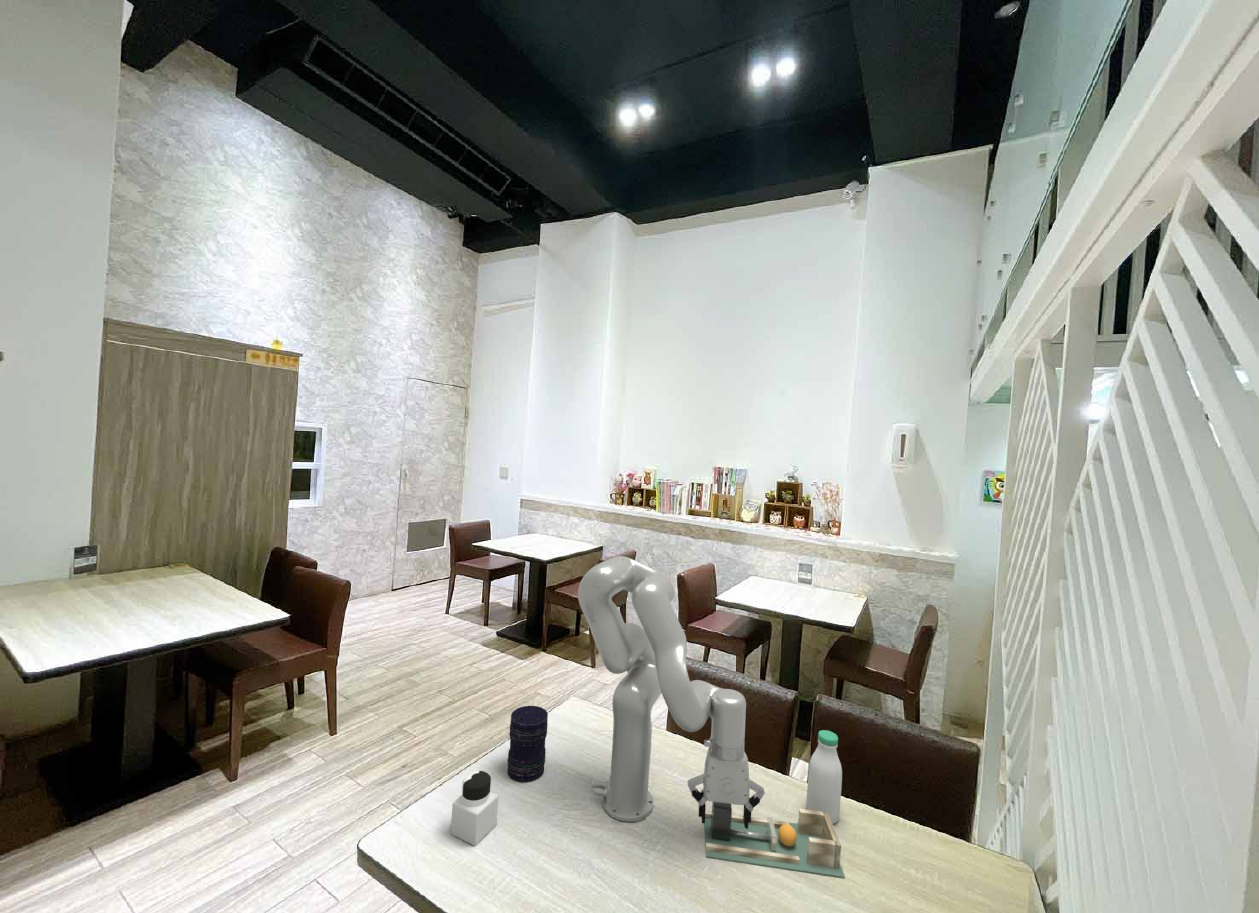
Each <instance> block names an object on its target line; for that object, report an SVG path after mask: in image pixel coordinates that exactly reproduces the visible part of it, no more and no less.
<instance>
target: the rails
mask: <svg viewBox="0 0 1259 913" xmlns="http://www.w3.org/2000/svg"><path fill="white" fill-rule="evenodd" d="M710 811H711V810H706V811H705V818H709V819H711V815H712V812H710ZM738 815H739V814H733V815H732V816H731V822H737V823H744V820H743V815H740V816H738ZM753 817H754V816H751V823H750V822H748V824H751V825H758V826H765V827H767V819H768V818H761V819H760V817H754V818H753ZM788 822H789V821H783V822H781V821H780V820H776V821H774V819H773V823H774V827H775V828H780V827H781V826H782V825H784V824H788V825H789V823H788ZM706 851H711V852H718V853H725V854H732V855H738V856H745V857H752V858H758V859H765V860H772V861H778V862H785V863H792V864H799V862H800V860H799V856H793V855H786V854H779V853H773V852H766V851H759V850H752V849H746V848H739V847H732V846H725V845H718V844H712V843H706V850H705V852H706Z"/></svg>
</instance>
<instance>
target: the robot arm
mask: <svg viewBox="0 0 1259 913" xmlns="http://www.w3.org/2000/svg"><path fill="white" fill-rule="evenodd" d="M674 586H675V585H674V584H673V583H672V581H671V580H670V579H669V577H667V576H666V575H664V574H663V573H660V572H659V571H657V570H655V569H653V568H651V567H649V566H647V565H644V564H643V563H641V562H638V561H636V560H635V559H632V558H630V557H628V556H624V555H623V556H622V555H617V556H614V557H613V556H612V557H611V558H608V559H607V560H604V561H601V562H599V563H598V564H596V565H595V566H592V567H591V568H590V569H589V570H588V571H587V572H586V573H585V575H584V576H583V577H582V578H581V581H580V583H579V586H578V591H577V597H578V598H577V599H578V603H579V606H580V609H581V611H582V613H583V615H584V618H585V619H586V622H587V624H588V627H589V629H590V633H591V635H592V638H593V641H594V642H595V645H596V649H597V651H598V653H599V655H600V659H601V661H602V663H603V665H604V667H605V669H606V670H608V672H610V673H612V674H613V675H614V674H615V675H621V674H623V673H626V672H627V674H626V675H625V676H624V677H623V678H622V679H621V680H620V681H619V683H618V684H617V686H616V688H615V689H614V691H613V694H612V702H611V703H612V704H611V705H612V715H613V718H612V719H613V728H612V729H613V730H612V747H611V761H610V762H611V763H610V775H609V778H608V779H605V780H600V779H594V778H593V779H592V780H591V781H592V782H591V789H595V790H594V795H597V796H602V799H601V804H602V807H603V809H604V811H605V812H606V813H607V814H608V815H609V816H610V817H612V818H613V819H616V820H618V821H621V822H630V823H631V822H632V823H633V822H638V821H641V820H643V819H646V818H647V817H648V816H649V815H650V814H651V813H652V812H653V810H654V798H653V795H652V793H651V792H650V791H649V781H650V764H651V756H652V755H651V753H652V738H653V737H652V736H653V726H652V710H653V707H654V705H655V704H656V702H657V701H658V699H659V698H660V696H661V695H662V697H663V699H664V703H665V705H666V706H667V709H668V711H669V713H670V715H671V717H672V719H673V720H674V722H675V724H677V726H679V728H680V729H682V730H683V731H685V732H689V733H695V732H698V731H699V730H701V729H702V728H703V727H704V726H705V724H706V722H707V720H708V718H709V717H710V719H711V728H710V729H711V734H710V737H709V739H704V741H703V742H704V747H707V748H708V749H707V750H706V756H705V761H704V768H703V770H704V771H703V773H702V774H700V775H697V776H695V777H692V778H689V779H688V780H687V787H688V789H689V791H690V793H691V796H692V798H694V800H695V801H696V802H697V804H698V817H699V818H701V824H703V825H704V823H705V811H707V809H706V803H707V802H711V803H712V802H717V803H726V804H731V805H738V806H743V815H742V816H743V820H744V826H745V828H746V829H748V822H750V823H751V817H752V812H753V810H754V808H756V807H757V806H758V805H759V804H760V801H761V800H762V799H763V797H764V796H765V794H766V792H765V789H764V787H763V786H761V785H760V784H758V783H757V782H755V781H754V780H751V779H750V768H749V762H748V761H749V759H748V756H747V754H746V752H745V739H746V738H745V735H746V714H747V712H746V711H747V701H746V698H745V696H744V695H743V693H741V692H739V691H738V690H735V689H732V688H731V689H730V688H722V687H718V686H717V685H714V684H711V683H709V682H707V681H704V680H699V679H695V680H690V676H689V673H688V667H687V651H688V650H687V648H688V646H687V644H688V642H687V636H686V634H685V631H684V629H683V627H682V625H681V623H680V621H679V619H678V617H677V614H676V612H675V611H674V607H673V605H672V601H673V599H674V597H675V587H674ZM623 590H625V591H627V592H629V593H630V594H631V603H632V605H633V608H634V610H635V611H634V612H635V613H636V615H637V617H638V619H639V622H640V624H641V626H640V625H638V624H636V623H633V622H626V623H625V621H624V619H623V616H622V613H621V610H619V607H618V606H617V605H616V604H615V602H613V600H612V598H613V597H614V596H615V595H616V594H618V593H619V592H621V591H623ZM701 784H703V788H702V789H701V790H698V788H697V787H698V786H699V785H701ZM750 790H752V791H753V792H755V793H754V794H753V795H752V796H751V797H750Z"/></svg>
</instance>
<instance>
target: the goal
mask: <svg viewBox="0 0 1259 913" xmlns="http://www.w3.org/2000/svg"><path fill="white" fill-rule="evenodd" d="M798 810H799V811H798V822H797V824H798V832H799V833H800V834H807V835H814V836H821V837H823V839H818V838H811V837H809V839H808V852H807V862H808V864H811V865H817V866H824V867H831V868H838V869H839V868H840V866H841V854H842V853H841V852H842V851H841V850H842V844H841V842H840V840H839V837H838V835H837V832H836V830H835V827H834V824H832V822H831V819H830V817H829V814H828V813H827V812H820V811H813V810H806V808H805V809H803V808H799V809H798Z"/></svg>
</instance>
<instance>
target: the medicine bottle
mask: <svg viewBox="0 0 1259 913" xmlns="http://www.w3.org/2000/svg"><path fill="white" fill-rule="evenodd" d="M491 783H492V777H491V775H490V774H489V772H487V771H484V770H475V771H472V772H469V773H467V774H466V775H465V776H464V778H463V779H462V788H461V795H460V796H458V798H456V799H455V800H454V801H452V803H451V804H452V808H451V821H450V822H451V824H450V834H451V835H452V836H454V837H457V838H458V839H460V840H462V841H465V843H468V844H470V845H472V846H474V847H475V846H477V845H478V844H479V843H480V842H481V840H483V839H484V838H485V837H486V836H487V835H488V834H490V832H492V830H493V829H494V828H496V826H497V823H498V822H497V820H498V807H499V806H498V805H499V794H497V793H495V792H493V791H491V787H492V784H491Z"/></svg>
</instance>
